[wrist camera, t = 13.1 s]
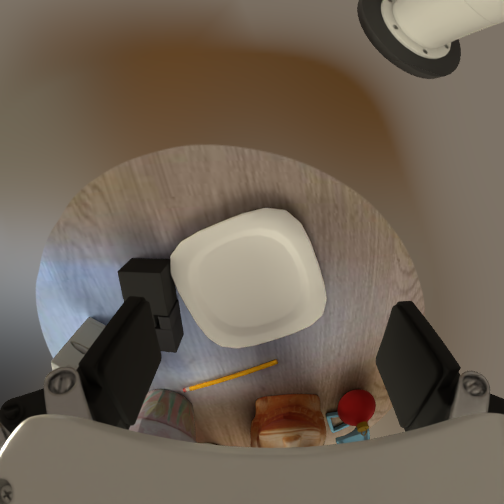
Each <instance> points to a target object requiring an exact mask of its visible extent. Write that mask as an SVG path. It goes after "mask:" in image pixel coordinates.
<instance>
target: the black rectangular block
mask: <svg viewBox="0 0 504 504" xmlns="http://www.w3.org/2000/svg"><path fill="white" fill-rule="evenodd" d="M118 276H119V281H120V285H121V290H122V294H123V299H124V302H125V301H126V300H127V298H128V297H129V296H137V297H144V298H145V300H146V301H148V302H149V303H150V307H151V312H152V317H153V321H154V326H155V327H156V326H157V324H158V322H159V319H158V316H159V315H162V316H168V315H169V313H170V311H171V309H172V307H173V305H174V303H175V301H176V299H177V296H176V289H175V283H174V280H173V278H172V275H171V266H170V259H145V258H132V259H131V260H130V261H128V262H127V263H126V264H125V265H124V266H123V267H122V268H121V269H120V270H119V271H118Z"/></svg>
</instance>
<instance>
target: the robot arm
mask: <svg viewBox="0 0 504 504" xmlns="http://www.w3.org/2000/svg"><path fill="white" fill-rule="evenodd" d="M381 13H382V17H383V19H384V22H385V24H386V25H387V27H388V29H389V30H390V31H391V33H392V34H393V35H394V36H395V38H396V39H397V40H398V41H399V42H400V43H402V44H403V45H404V46H405V47H406V48H408V49H409V50H410V51H412V52H414V53H415V54H417V55H419V56H422V57H424V58H428V59H438V58H441V57H443V56H445V55H446V54H447V53H448V52H449V50H450V47H451V42H452V41H455V40H457V39H460V38H462V37H464V36H467V35H469V34H472V33H474V32H477V31H480V30H482V29H485V28H488V27H491V26H493V25H496V24H499V23H502V22H504V0H383V1H382V3H381ZM160 362H161V351H160V347H159V343H158V339H157V334H156V330H155V326H154V321H153V317H152V312H151V307H150V303H149V302H148V301H146V300H145V298H144V297H137V296H129V297H128V298H127V300H126V301H125V302H124V303H123V305H122V306H121V307H120V308H119V310H118V311H117V312H116V314H115V315H114V316H113V317H112V319H111V320H110V321H109V323H108V324H107V325H106V327H105V328H104V329H103V331H102V332H101V333H100V335H99V336H98V337H97V339H96V340H95V341H94V343H93V344H92V345H91V347H90V348H89V350H88V351H87V352H86V354H85V355H84V357H83V358H82V359H81V361H80V362H79V364H78V365H79V367H78V368H77V370H75V369H73V368H71V367H59V368H57V369H54V370H53V371H52V372H50V373H49V374H48V375H47V376H46V378H45V380H44V389H41V390H38V391H35V392H32V393H29V394H25V395H22V396H19V397H16V398H12V399H10V400H8V401H7V402H5V403H4V404H3V406H2V407H1V410H0V504H504V399H503V398H500V397H497V396H495V395H492V394H490V386H489V383H488V381H487V379H486V378H485V377H484V376H483V375H482V374H480V373H478V372H475V371H467V372H464V373H462V375H460V374H459V370H460V366H459V364H458V363H457V361H456V360H455V358H454V357H453V356H452V354H451V353H450V351H449V350H448V348H447V347H446V345H445V344H444V343H443V341H442V340H441V338H440V337H439V336H438V334H437V333H436V332H435V330H434V329H433V328H432V326H431V325H430V324H429V322H428V321H427V320H426V318H425V317H424V316H423V315H422V313H421V312H420V311H419V309H418V308H417V307H416V306H415V304H414V303H413V302H412V301H401V302H398V303H397V304H396V305H395V306H393V308H392V311H391V314H390V317H389V321H388V324H387V327H386V330H385V333H384V336H383V339H382V342H381V345H380V348H379V351H378V353H377V356H376V365H377V368H378V370H379V372H380V375H381V377H382V380H383V382H384V385H385V387H386V390H387V392H388V395H389V397H390V400H391V402H392V405H393V408H394V410H395V413H396V415H397V418H398V421H399V424H400V426H401V427H402V428H404V429H405V432H402V433H398V434H394V435H389V436H384V437H380V438H374V439H369V440H363V441H356V442H349V443H342V444H333V445H323V446H310V447H290V448H254V447H234V446H221V445H210V444H202V443H194V442H187V441H180V440H174V439H169V438H163V437H158V436H154V435H149V434H144V433H139V432H135V431H131V430H129V428H130V426H131V425H132V426H133V425H134V424H135V423H136V420H137V418H138V415H139V413H140V410H141V408H142V405H143V403H144V400H145V398H146V395H147V393H148V391H149V388H150V386H151V383H152V381H153V379H154V376H155V374H156V371H157V369H158V367H159V364H160Z"/></svg>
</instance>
